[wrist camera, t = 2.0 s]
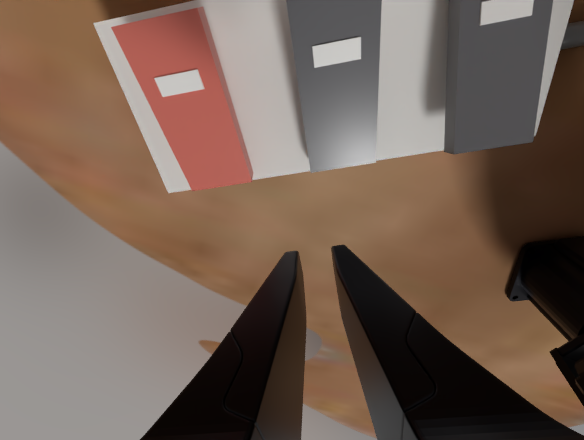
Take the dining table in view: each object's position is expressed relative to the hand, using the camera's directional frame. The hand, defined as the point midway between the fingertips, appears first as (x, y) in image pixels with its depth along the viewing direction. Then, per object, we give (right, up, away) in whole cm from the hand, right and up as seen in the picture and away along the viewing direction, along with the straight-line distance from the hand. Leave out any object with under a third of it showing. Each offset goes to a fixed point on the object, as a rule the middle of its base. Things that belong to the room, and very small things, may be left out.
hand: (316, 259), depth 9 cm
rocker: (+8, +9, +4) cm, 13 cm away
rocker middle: (+1, +8, +5) cm, 9 cm away
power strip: (+4, +10, +8) cm, 14 cm away
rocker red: (-6, +7, +5) cm, 10 cm away
